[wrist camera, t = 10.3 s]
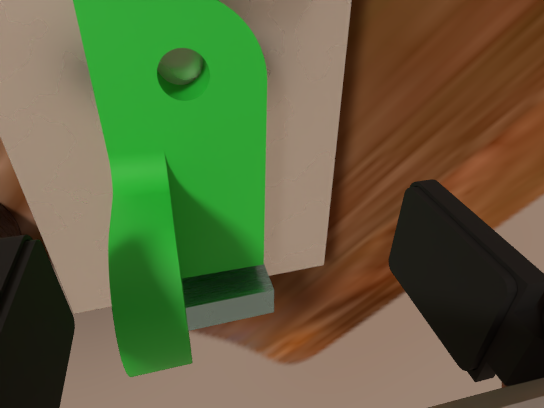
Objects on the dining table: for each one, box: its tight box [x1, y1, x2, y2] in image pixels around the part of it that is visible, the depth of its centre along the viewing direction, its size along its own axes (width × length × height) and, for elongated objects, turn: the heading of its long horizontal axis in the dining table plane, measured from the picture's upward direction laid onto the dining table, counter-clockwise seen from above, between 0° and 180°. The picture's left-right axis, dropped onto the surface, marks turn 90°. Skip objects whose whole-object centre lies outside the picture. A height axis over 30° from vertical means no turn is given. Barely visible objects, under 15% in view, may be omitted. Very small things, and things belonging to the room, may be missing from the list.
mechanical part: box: [73, 0, 267, 377], centre depth 14 cm, size 12×6×8 cm, turn 179°
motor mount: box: [0, 0, 352, 331], centre depth 16 cm, size 22×18×6 cm
